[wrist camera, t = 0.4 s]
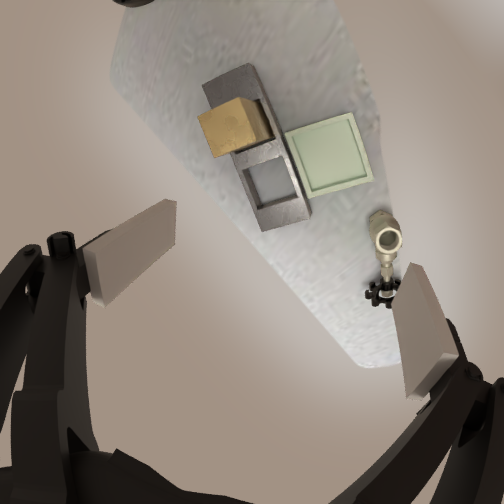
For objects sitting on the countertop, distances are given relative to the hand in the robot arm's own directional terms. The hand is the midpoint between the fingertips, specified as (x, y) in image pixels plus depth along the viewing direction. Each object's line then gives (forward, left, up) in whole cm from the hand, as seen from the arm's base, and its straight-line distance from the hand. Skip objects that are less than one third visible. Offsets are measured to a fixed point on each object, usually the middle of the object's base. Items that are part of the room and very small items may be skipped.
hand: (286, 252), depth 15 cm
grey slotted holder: (-6, -6, -25) cm, 26 cm away
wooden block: (-9, -6, -25) cm, 27 cm away
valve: (+13, +6, -25) cm, 29 cm away
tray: (-2, +3, -25) cm, 25 cm away
